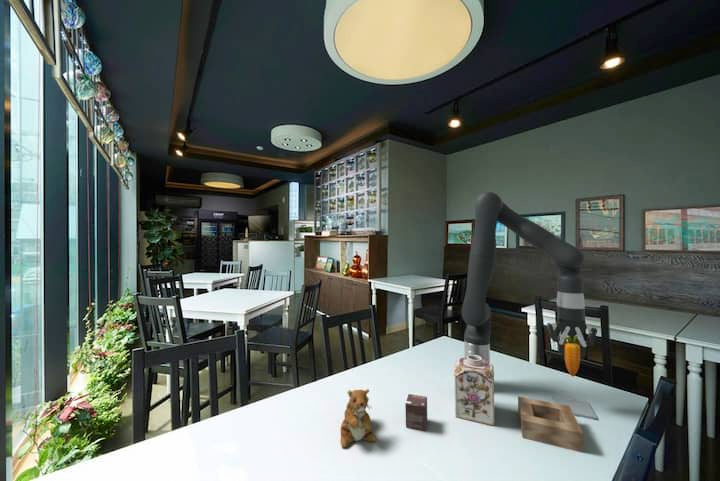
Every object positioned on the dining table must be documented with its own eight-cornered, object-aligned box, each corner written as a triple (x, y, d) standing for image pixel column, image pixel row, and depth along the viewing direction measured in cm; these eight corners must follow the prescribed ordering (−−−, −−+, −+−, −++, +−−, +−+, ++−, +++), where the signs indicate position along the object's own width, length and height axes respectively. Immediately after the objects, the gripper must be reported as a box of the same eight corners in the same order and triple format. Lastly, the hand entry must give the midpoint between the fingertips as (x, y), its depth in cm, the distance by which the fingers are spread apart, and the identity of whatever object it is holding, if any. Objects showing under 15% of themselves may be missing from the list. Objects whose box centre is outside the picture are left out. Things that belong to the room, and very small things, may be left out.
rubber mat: (558, 412, 93) (558, 410, 93) (552, 397, 102) (552, 395, 102) (597, 419, 88) (597, 417, 88) (587, 403, 97) (587, 401, 97)
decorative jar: (494, 407, 96) (493, 353, 96) (495, 427, 85) (494, 367, 86) (457, 399, 101) (457, 348, 101) (453, 417, 90) (453, 360, 91)
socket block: (522, 437, 80) (522, 419, 81) (518, 411, 93) (518, 396, 93) (583, 452, 75) (582, 433, 75) (570, 422, 87) (569, 406, 87)
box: (427, 420, 89) (427, 396, 89) (425, 431, 83) (425, 406, 84) (408, 416, 91) (408, 393, 91) (405, 427, 85) (405, 403, 86)
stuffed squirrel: (341, 450, 76) (341, 401, 76) (337, 419, 90) (337, 377, 90) (377, 446, 77) (377, 398, 78) (368, 416, 91) (368, 375, 92)
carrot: (585, 380, 92) (583, 334, 93) (568, 379, 93) (566, 333, 94) (576, 373, 97) (575, 329, 98) (560, 372, 98) (559, 329, 99)
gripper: (547, 305, 95) (548, 356, 95) (601, 309, 89) (602, 363, 89) (543, 301, 102) (544, 349, 102) (593, 305, 96) (594, 355, 96)
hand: (571, 355), depth 95 cm, fingers closed on carrot, 5 cm apart
